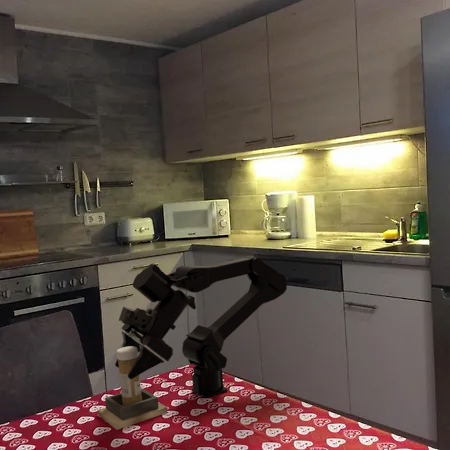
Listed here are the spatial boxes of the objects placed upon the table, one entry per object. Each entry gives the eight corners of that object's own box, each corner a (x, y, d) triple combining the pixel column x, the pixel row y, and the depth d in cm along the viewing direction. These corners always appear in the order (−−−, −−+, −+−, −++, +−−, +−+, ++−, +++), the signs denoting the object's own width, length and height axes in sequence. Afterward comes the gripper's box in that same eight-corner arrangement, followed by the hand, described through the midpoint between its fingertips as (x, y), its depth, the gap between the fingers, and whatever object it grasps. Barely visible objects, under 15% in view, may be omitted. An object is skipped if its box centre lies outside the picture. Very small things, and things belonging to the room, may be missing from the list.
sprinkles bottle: (146, 408, 120) (140, 348, 119) (127, 414, 118) (121, 353, 117) (138, 402, 124) (132, 344, 123) (119, 408, 122) (113, 349, 120)
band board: (146, 399, 128) (145, 384, 128) (167, 412, 120) (166, 396, 120) (97, 415, 121) (96, 399, 121) (116, 429, 113) (115, 412, 113)
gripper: (126, 287, 129) (84, 342, 125) (154, 299, 112) (106, 363, 108) (160, 314, 133) (120, 368, 129) (192, 329, 117) (147, 392, 112)
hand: (122, 372), depth 119 cm, fingers open, 9 cm apart
